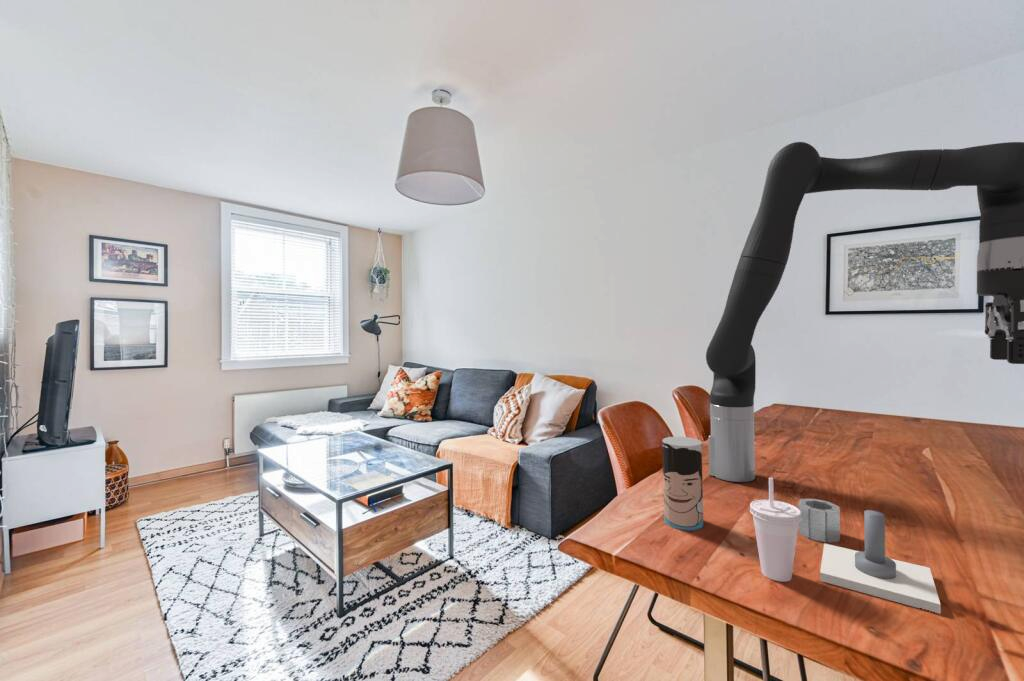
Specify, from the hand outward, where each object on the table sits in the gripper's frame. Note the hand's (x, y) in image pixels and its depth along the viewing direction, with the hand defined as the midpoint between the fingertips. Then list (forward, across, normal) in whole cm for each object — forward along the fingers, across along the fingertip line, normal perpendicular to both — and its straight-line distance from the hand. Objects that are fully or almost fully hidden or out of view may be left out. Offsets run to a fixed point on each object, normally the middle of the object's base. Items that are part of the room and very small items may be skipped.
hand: (1008, 361), depth 74 cm
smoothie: (+29, +38, -32) cm, 57 cm away
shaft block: (+28, +32, -20) cm, 48 cm away
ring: (+28, +21, -27) cm, 44 cm away
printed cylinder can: (+29, +28, -47) cm, 62 cm away
